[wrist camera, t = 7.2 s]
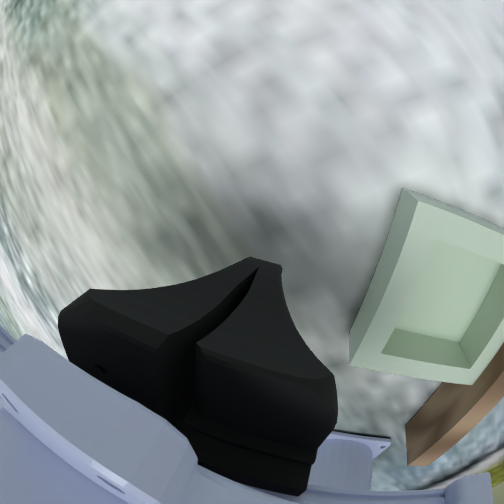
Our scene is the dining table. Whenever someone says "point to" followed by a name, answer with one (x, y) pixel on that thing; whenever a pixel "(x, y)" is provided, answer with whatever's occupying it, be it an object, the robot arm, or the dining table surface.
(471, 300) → the holder
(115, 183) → the dining table surface
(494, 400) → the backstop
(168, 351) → the robot arm
